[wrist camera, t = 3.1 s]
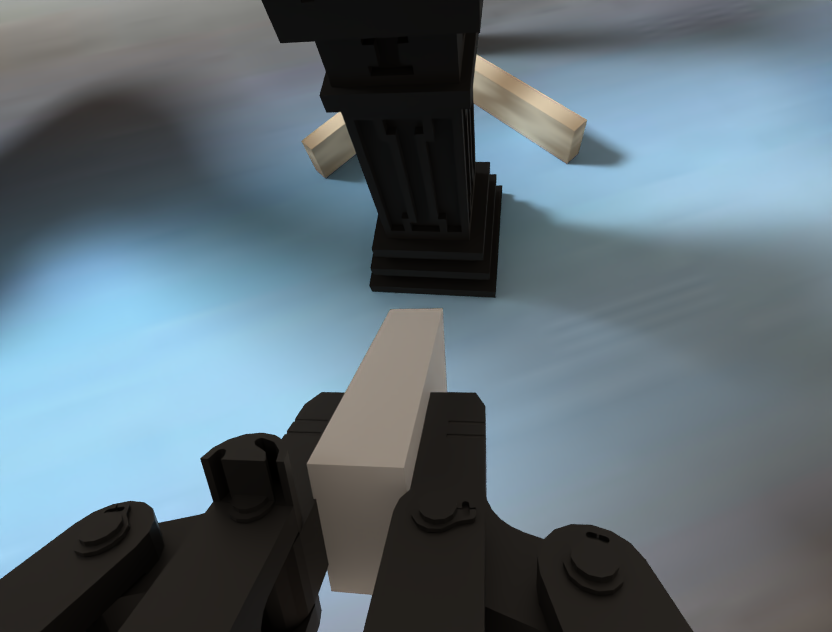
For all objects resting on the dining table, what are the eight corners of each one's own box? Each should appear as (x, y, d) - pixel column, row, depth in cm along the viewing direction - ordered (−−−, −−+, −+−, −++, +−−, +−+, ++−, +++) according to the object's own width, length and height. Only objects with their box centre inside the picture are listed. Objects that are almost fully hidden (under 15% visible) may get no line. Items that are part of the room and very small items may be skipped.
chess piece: (389, 191, 33) (268, -205, 15) (501, 193, 31) (523, -246, 13) (372, 291, 30) (191, -51, 12) (495, 297, 28) (511, -82, 10)
